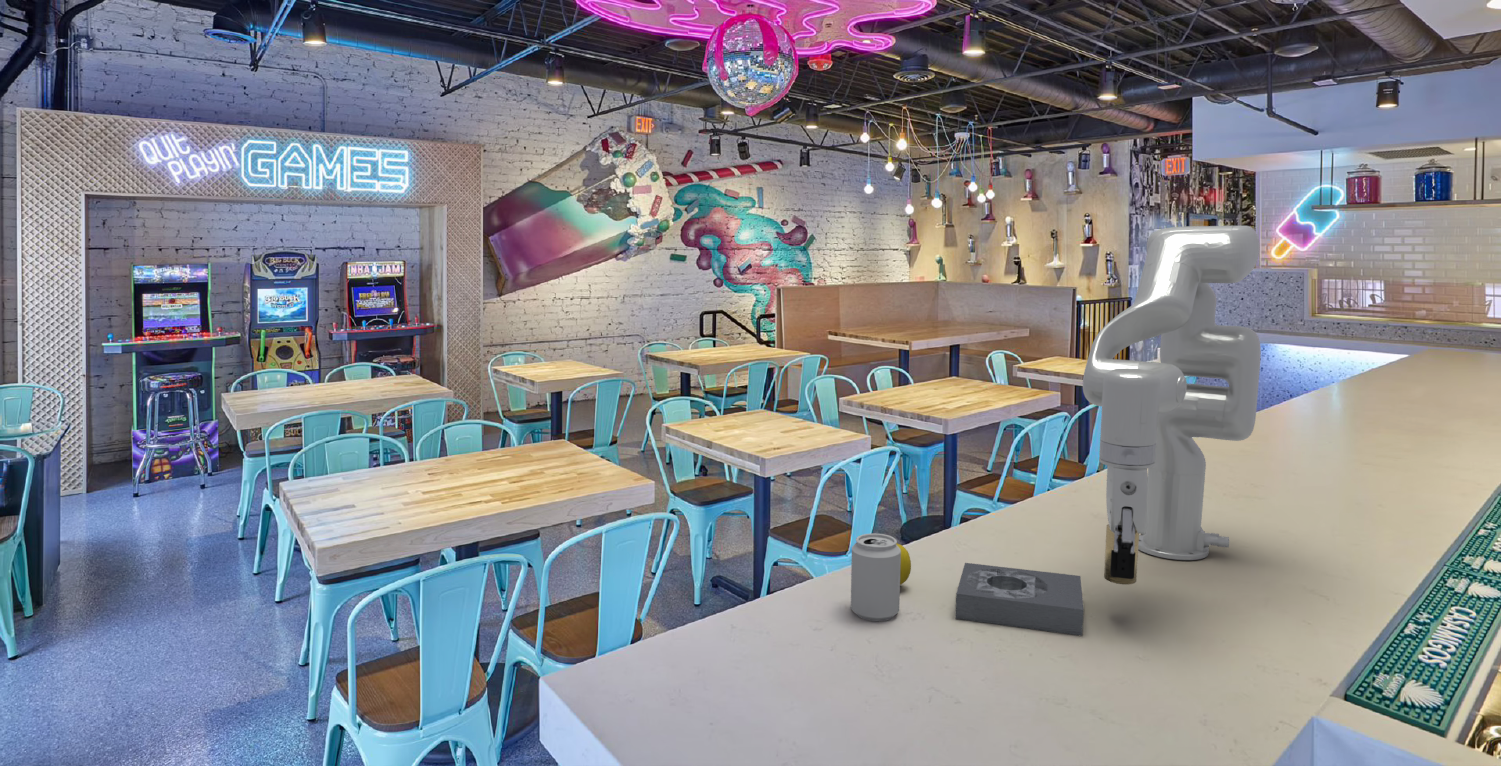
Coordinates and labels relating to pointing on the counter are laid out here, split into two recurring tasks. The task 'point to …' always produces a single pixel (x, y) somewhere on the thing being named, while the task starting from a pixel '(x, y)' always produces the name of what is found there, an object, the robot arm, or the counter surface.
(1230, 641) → the counter surface
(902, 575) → the lemon
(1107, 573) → the cylinder
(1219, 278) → the robot arm
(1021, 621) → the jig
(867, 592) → the can
